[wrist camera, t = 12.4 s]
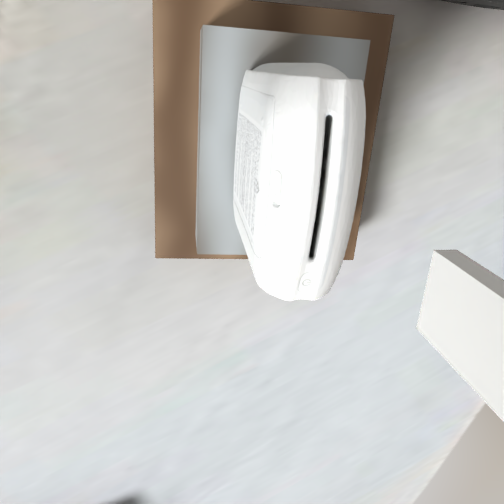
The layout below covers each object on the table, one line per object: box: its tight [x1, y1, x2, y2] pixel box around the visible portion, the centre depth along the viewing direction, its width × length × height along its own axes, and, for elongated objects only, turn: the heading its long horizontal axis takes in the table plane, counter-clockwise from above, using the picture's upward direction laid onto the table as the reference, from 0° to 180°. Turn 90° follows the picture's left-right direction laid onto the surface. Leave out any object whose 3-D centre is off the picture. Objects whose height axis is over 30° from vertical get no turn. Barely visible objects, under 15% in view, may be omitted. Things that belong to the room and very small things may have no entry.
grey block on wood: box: [153, 0, 394, 260], centre depth 32 cm, size 16×18×8 cm
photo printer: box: [233, 63, 366, 301], centre depth 23 cm, size 10×4×12 cm, turn 176°
